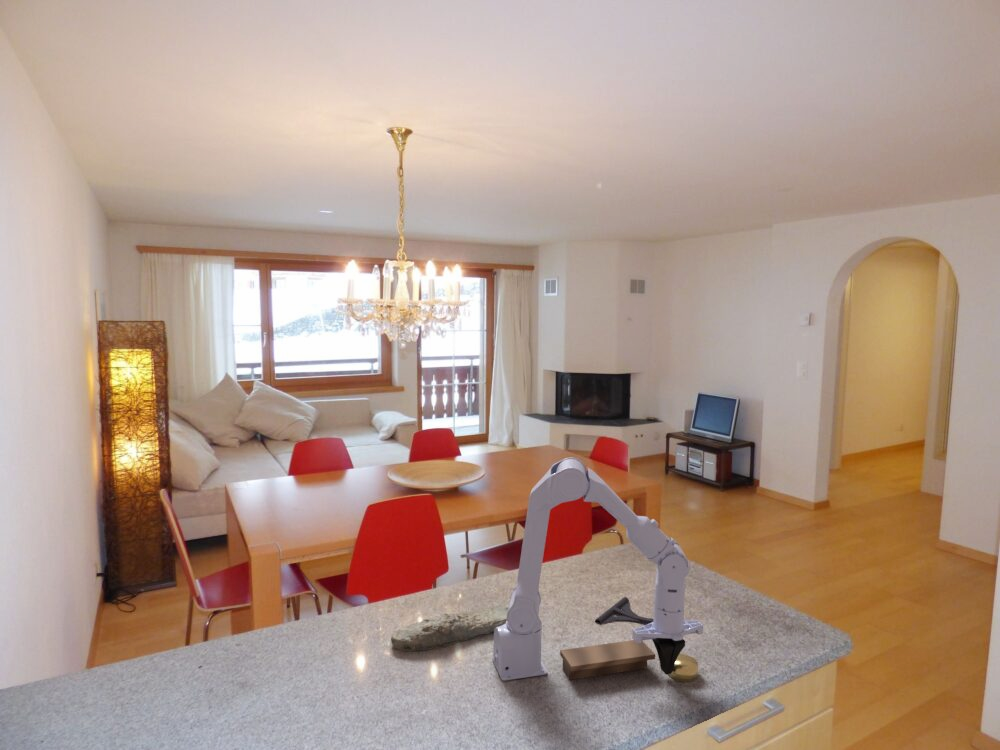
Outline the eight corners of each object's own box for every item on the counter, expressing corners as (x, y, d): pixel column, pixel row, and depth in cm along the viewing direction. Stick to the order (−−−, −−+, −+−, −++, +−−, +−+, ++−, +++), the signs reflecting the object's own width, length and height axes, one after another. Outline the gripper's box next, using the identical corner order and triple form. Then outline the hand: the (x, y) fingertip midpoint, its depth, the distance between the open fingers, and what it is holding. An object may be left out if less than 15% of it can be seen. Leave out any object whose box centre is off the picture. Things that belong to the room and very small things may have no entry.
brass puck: (676, 684, 120) (677, 672, 120) (660, 667, 126) (661, 655, 126) (703, 679, 122) (704, 667, 122) (686, 663, 128) (687, 651, 127)
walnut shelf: (570, 686, 119) (571, 666, 119) (559, 668, 125) (560, 650, 124) (654, 673, 124) (655, 654, 123) (639, 657, 130) (640, 639, 129)
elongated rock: (544, 631, 143) (522, 614, 152) (545, 608, 143) (523, 593, 152) (399, 660, 126) (384, 640, 135) (400, 635, 126) (385, 616, 135)
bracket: (654, 646, 135) (655, 634, 135) (594, 624, 144) (595, 613, 144) (679, 621, 147) (680, 610, 146) (622, 602, 156) (623, 592, 155)
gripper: (645, 619, 115) (643, 688, 116) (713, 610, 119) (710, 677, 120) (628, 602, 122) (625, 667, 123) (692, 594, 126) (689, 658, 127)
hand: (666, 671), depth 122 cm, fingers closed
